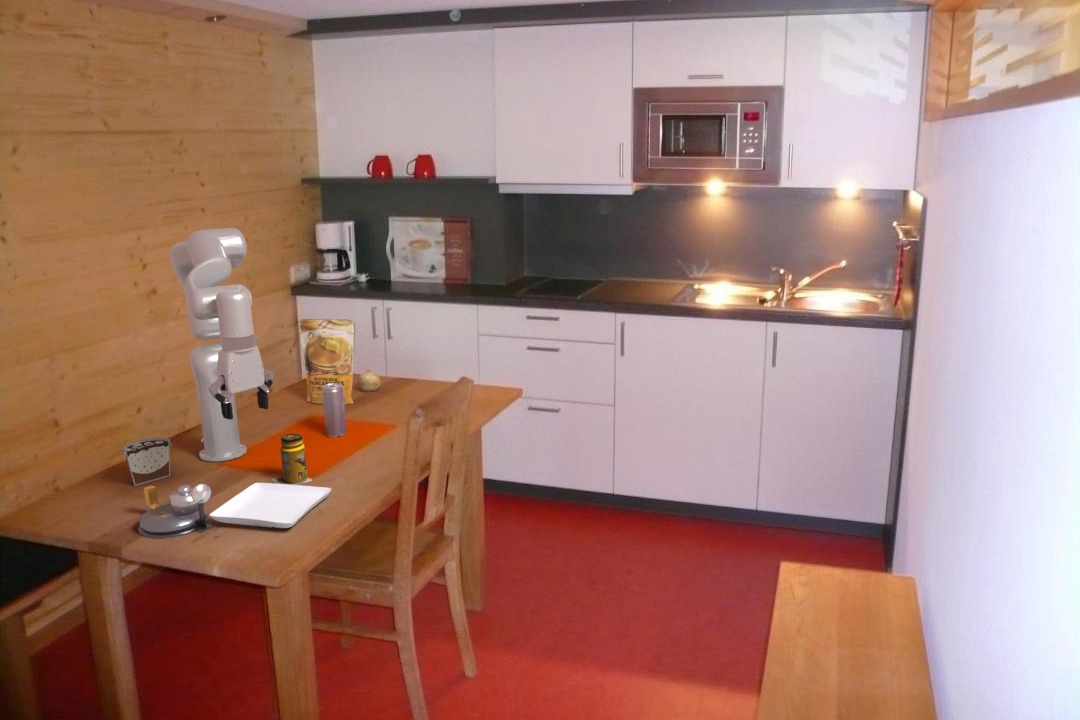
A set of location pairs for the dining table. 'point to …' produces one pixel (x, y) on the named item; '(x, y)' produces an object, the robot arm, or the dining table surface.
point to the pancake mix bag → (327, 355)
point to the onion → (369, 381)
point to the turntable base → (169, 534)
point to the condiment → (293, 461)
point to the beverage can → (334, 409)
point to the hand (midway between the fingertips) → (246, 413)
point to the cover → (183, 501)
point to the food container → (148, 459)
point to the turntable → (164, 516)
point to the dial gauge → (201, 504)
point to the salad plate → (270, 505)
